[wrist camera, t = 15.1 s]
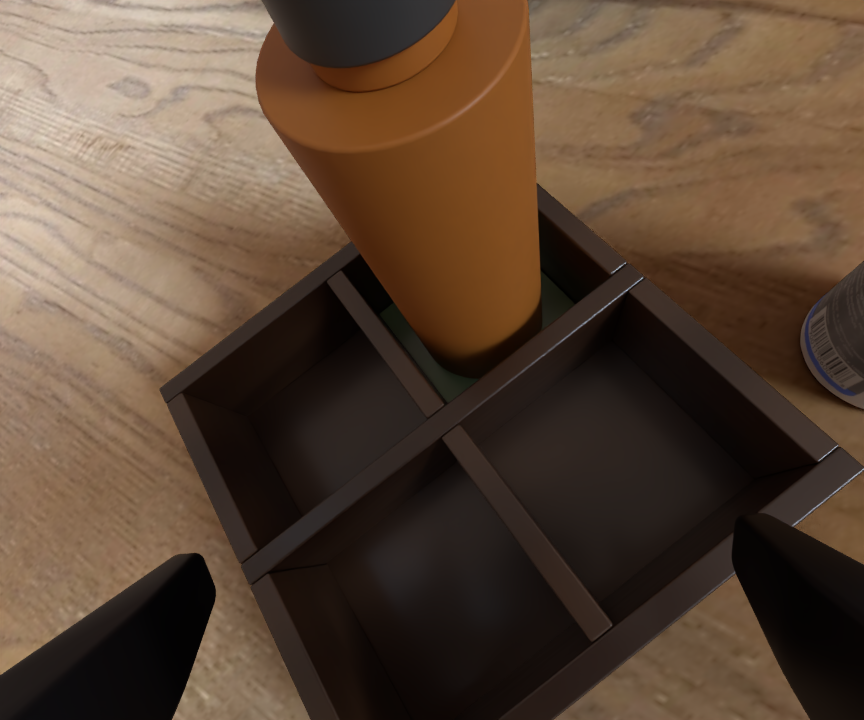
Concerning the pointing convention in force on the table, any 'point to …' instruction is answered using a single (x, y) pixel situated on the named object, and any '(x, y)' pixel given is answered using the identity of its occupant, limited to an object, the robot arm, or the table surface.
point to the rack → (486, 484)
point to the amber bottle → (420, 156)
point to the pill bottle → (838, 339)
